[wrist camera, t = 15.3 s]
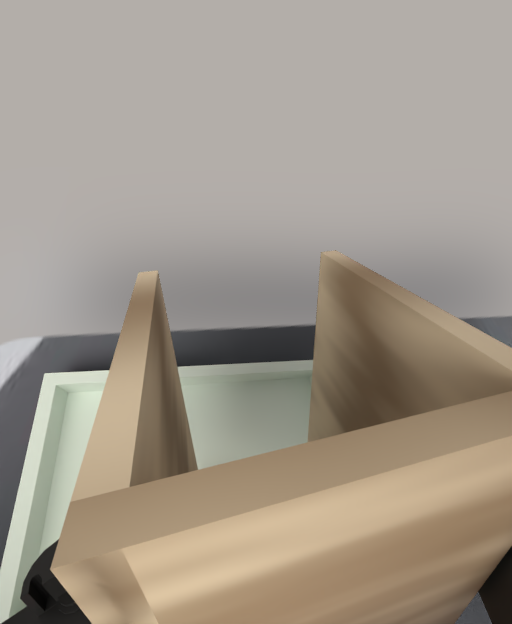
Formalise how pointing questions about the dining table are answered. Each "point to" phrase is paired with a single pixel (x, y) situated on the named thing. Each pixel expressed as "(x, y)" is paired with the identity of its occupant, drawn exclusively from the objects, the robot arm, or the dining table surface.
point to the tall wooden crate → (302, 477)
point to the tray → (203, 426)
